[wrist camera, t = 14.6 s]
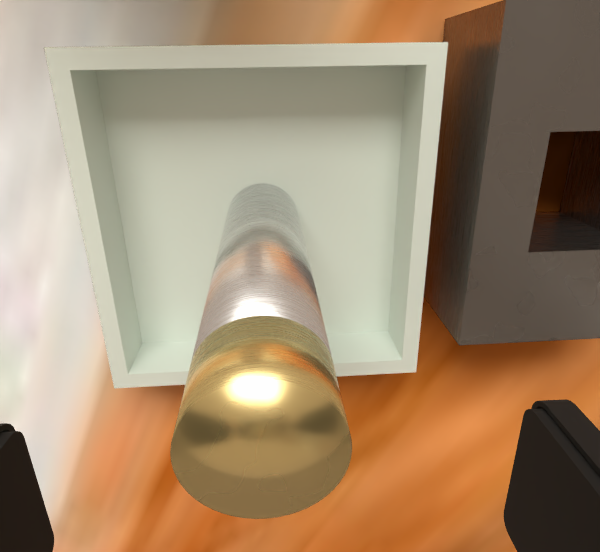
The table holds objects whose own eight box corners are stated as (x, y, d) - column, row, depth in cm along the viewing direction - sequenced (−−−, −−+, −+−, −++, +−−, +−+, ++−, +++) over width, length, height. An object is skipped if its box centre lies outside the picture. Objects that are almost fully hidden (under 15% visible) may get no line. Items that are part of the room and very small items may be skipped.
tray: (396, 333, 28) (416, 372, 25) (134, 346, 27) (114, 388, 24) (417, 47, 22) (448, 42, 19) (81, 52, 21) (43, 47, 18)
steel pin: (298, 249, 25) (349, 512, 10) (230, 252, 25) (181, 524, 10) (297, 182, 23) (354, 375, 9) (224, 184, 23) (158, 386, 8)
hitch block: (584, 284, 28) (663, 334, 22) (419, 291, 27) (459, 345, 22) (650, 16, 22) (775, -3, 17) (445, 18, 22) (506, -1, 16)
